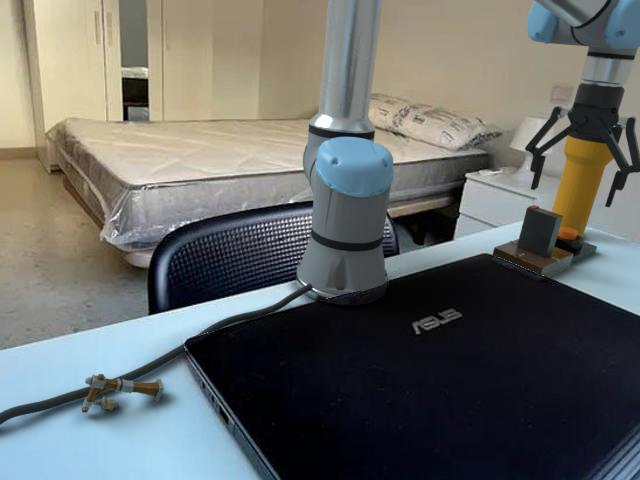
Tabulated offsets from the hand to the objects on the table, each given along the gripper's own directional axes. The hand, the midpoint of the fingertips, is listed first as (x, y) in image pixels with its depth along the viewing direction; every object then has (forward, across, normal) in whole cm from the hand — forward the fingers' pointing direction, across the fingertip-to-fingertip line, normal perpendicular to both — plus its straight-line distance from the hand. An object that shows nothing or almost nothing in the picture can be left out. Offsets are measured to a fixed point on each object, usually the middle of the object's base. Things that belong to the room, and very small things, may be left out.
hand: (569, 196), depth 98 cm
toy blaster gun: (+12, +26, +82) cm, 87 cm away
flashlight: (+13, +1, -16) cm, 21 cm away
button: (+10, -1, -4) cm, 11 cm away
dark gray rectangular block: (+10, +2, +8) cm, 13 cm away
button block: (+13, -1, -4) cm, 14 cm away
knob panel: (+13, +2, +8) cm, 15 cm away
